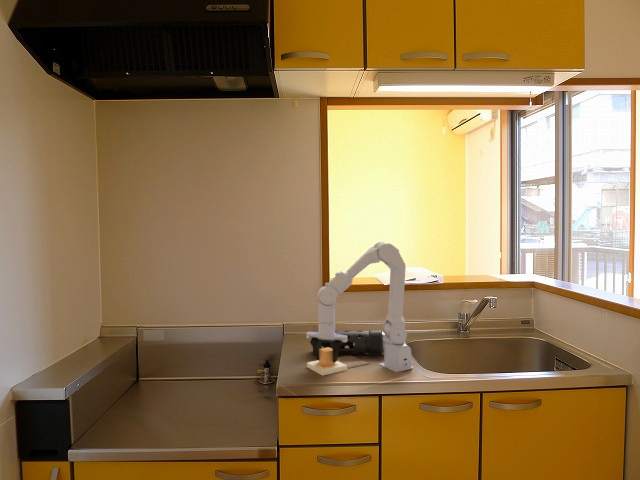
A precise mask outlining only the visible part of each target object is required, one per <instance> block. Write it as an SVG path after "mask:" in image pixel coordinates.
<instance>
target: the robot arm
mask: <svg viewBox="0 0 640 480" xmlns="http://www.w3.org/2000/svg"><path fill="white" fill-rule="evenodd" d="M380 262H383V263H384V264H385V266H387V267H388V269H389V270H390V271H389V273H390V275H389V276H390V277H389V288H388V289H389V291H388V308H387V309H388V310H387V312H388V313H387V314H386V316H385V322H384V324H383V326H382V332H384V334H385V335H386V337H385V339H384V353H383V355H384V357H383V362H380V363H379V364H378V365H379V366H381V367H384V368H386V369H388V370H390V371H393V372H396V373H398V372H403V371H407V370H412V369H414V366H413V365H412V348H411V347H410V346H409V345H407V343H406V339H407V337H408V333H407V332H408V331H407V329H406V322H405V318H404V303H405V302H404V301H405V299H404V298H405V282H406V280H405V279H406V269H407V268H406V263H405V261H404V259H403V258H402V255H401V254H400V250H399V249H398V248H397V247H396V246H395V245H393V244H392V243H386V242H385V241H378V242H377V243H375V244H374V245H373V246H371V247H370V248H369V249H367V250H366V251H365V252H364V253H363V255H361V256H360V257H359V258H358V259H357V260H356V261H355V262H354V263H353V264H352V265H351V266H350V267H349V268H348V269H347V270H346V271H345V270H342V271H340V272H338V271H337V272H336V273H334V277H333V278H331V280H329V282H325V283H324V285H325V286H322V287H320V288H319V289H318V291H317V294H316V298H317V299H318V308H317V309H318V310H317V311H318V312H317V314H318V318H317V319H318V329H317V331H318V332H313V331H307V332H306V339H310V340H309V343H310V345H311V348H312V350H313V349H314V352H315V355H314V356H315V359H316V361H317V360H319V349H321V341H322V339H323V340H332V341H334V342H333V343H332V348H333V362H336V361H337V358H338V357H339V355H338V354H339V351H340V348H341V346H342V344H343V342H347V335H341V334H336V333H335V331H336V308H335V303H336V301H337V297H338V296H340V295H341V294H342V293H344V291H346V290H347V289H348V288H349V287H350V286H351V285H352V284H353V279H354V278H355V277H356V276H357V275H359V274H360V273H361V272H362V271H363V270H365V269H366V268H367V267H368V266H369V265H372V264H378V263H380Z"/></svg>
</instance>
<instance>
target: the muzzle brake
mask: <svg viewBox="0 0 640 480" xmlns="http://www.w3.org/2000/svg"><path fill="white" fill-rule="evenodd" d="M312 332H318V330H313V331H312ZM335 333H336V334H341V335H347V342H343V344H342V346H341V348H340V351H339V354H338V356H341V355H342V356H346V355H352V356H354V355H367V354H369V355H371V356H381V355H384V339H385V337H386V335H385V334H384V332H383V330H381V329H370V330H368V331H366V330H335ZM333 342H334V341H332V340H323V339H322V341H321V348H327V347H329V348H332V343H333ZM332 349H333V348H332ZM312 355H314V356H316V355H315V352H314V349H313V348H312Z"/></svg>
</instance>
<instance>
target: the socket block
mask: <svg viewBox="0 0 640 480" xmlns="http://www.w3.org/2000/svg"><path fill="white" fill-rule="evenodd" d="M306 368H308V369H309V370H311V371H313V372H315V373H317V374H318V375H321V376H326V375H331V374H336V373H340V372H345V371H347V370H348V368H347V365H345V364H343V363H341V362H339V361H336V362H335V366H330V367H325V368H324V367H322V366H320V365H319V360H317V359H316V360H313V361H308V362H306Z"/></svg>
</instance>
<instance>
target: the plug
mask: <svg viewBox="0 0 640 480" xmlns="http://www.w3.org/2000/svg"><path fill="white" fill-rule="evenodd" d="M319 365H320V366H322V367H324V368H325V367H330V366H335V362H333V349H332V348H329V347H327V348H323V347H322V348H321V349H319Z"/></svg>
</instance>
